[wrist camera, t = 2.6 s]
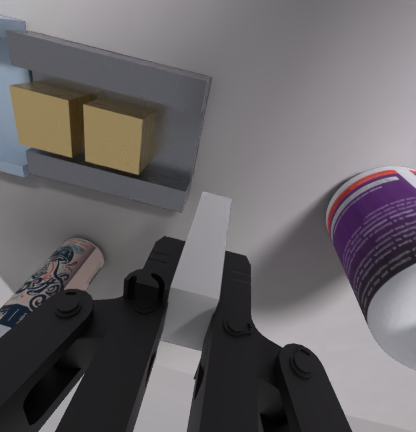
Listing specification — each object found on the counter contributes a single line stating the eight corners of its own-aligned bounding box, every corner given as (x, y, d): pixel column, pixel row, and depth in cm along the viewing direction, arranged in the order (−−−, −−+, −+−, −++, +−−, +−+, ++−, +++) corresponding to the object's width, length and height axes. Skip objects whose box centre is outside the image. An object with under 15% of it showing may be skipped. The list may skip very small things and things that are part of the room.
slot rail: (32, 31, 19) (5, 29, 17) (211, 77, 19) (206, 81, 17) (48, 162, 25) (29, 173, 22) (187, 198, 24) (181, 212, 22)
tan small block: (39, 80, 20) (9, 85, 18) (91, 93, 20) (68, 100, 18) (45, 133, 22) (19, 144, 20) (92, 145, 22) (72, 157, 20)
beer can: (92, 231, 28) (3, 334, 18) (114, 265, 30) (45, 374, 20) (56, 239, 29) (-47, 339, 19) (79, 271, 32) (-2, 377, 22)
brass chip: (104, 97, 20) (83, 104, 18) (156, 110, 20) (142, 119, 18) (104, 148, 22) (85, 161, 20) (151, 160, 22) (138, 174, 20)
